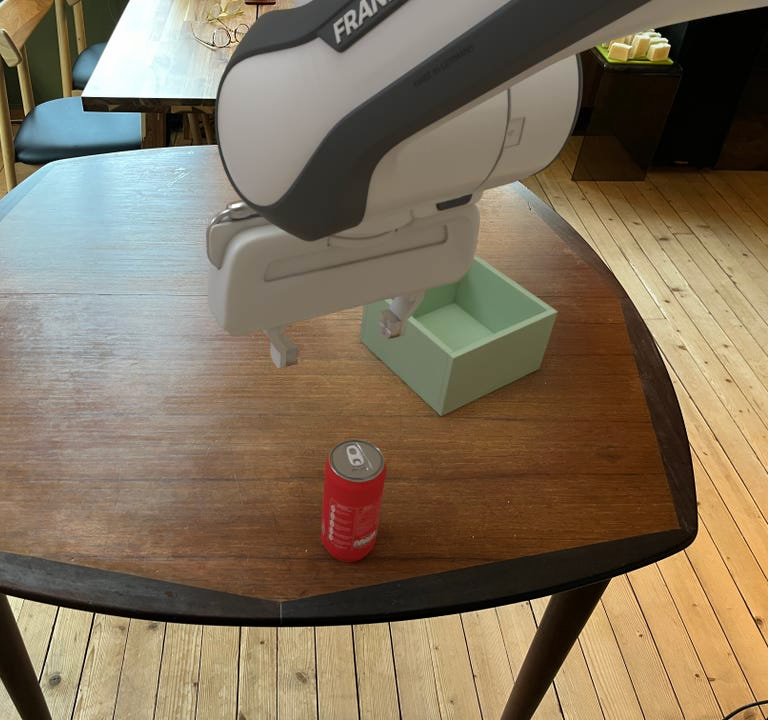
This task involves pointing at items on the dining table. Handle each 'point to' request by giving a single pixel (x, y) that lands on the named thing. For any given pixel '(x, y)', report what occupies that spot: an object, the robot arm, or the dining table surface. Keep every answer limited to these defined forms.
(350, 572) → the dining table surface
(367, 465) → the beverage can
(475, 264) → the bin
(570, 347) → the dining table surface
